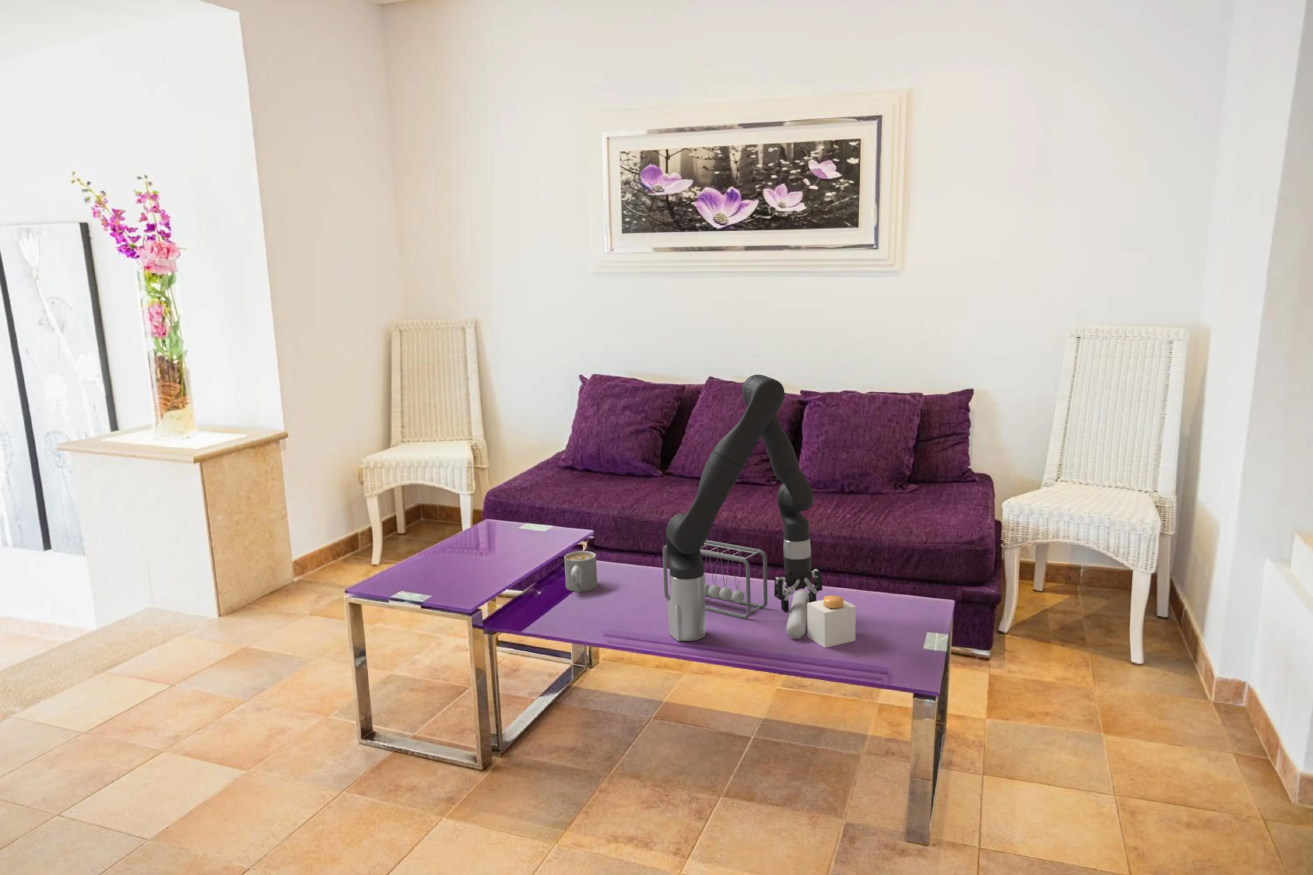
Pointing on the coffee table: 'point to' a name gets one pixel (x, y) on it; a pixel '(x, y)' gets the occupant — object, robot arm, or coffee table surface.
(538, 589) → the coffee table surface
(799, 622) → the tube
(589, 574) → the coffee mug
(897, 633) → the coffee table surface
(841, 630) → the housing
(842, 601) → the orange rounded lump
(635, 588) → the coffee table surface
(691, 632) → the robot arm
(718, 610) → the newton's cradle
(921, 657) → the coffee table surface
